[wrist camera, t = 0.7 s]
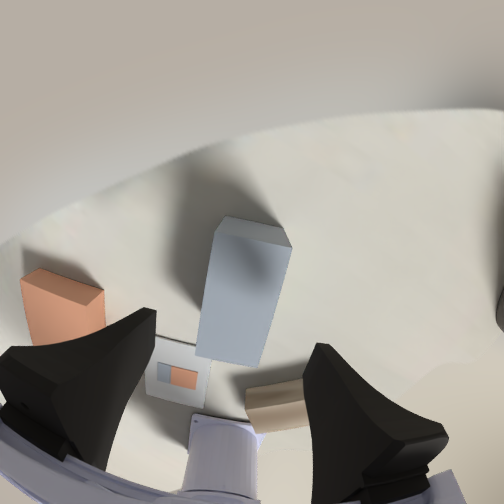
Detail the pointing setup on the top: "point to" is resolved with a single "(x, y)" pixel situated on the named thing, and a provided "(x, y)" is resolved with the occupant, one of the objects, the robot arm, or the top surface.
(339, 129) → the top surface
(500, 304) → the mug
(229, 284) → the top brick
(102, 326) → the base brick
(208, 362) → the page
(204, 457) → the robot arm
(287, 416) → the brick
